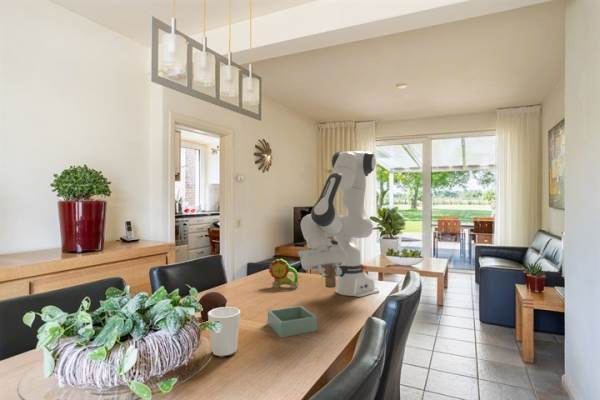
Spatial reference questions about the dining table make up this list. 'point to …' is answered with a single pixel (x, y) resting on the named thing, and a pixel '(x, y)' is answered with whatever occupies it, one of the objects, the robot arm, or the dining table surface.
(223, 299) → the muffin
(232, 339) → the cup
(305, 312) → the bin
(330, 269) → the walnut peg
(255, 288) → the dining table surface
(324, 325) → the dining table surface
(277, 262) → the toy lion
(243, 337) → the dining table surface
